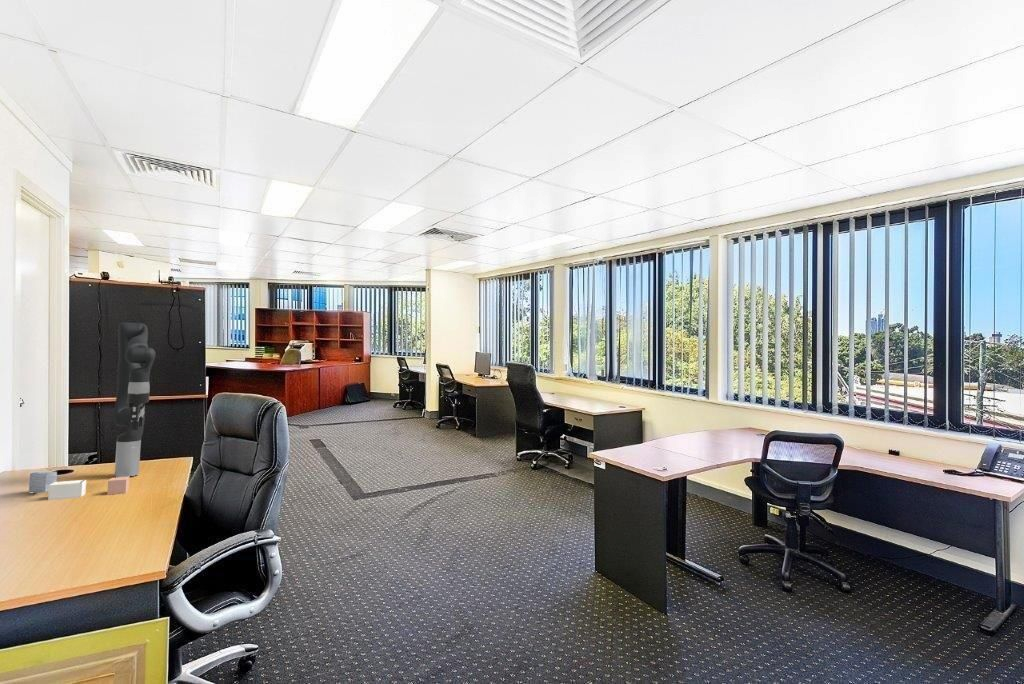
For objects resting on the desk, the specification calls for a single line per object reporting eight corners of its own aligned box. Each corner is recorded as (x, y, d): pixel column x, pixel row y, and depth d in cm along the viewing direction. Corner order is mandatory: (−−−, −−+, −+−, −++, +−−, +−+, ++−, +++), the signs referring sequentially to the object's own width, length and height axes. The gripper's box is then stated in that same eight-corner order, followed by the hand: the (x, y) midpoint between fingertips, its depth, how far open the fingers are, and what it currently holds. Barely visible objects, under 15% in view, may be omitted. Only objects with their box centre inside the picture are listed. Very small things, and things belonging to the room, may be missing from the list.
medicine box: (56, 491, 197) (57, 471, 197) (44, 494, 192) (46, 474, 192) (40, 490, 197) (41, 470, 198) (28, 493, 193) (29, 473, 193)
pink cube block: (110, 491, 196) (111, 477, 196) (128, 489, 199) (129, 476, 199) (107, 494, 191) (108, 480, 192) (125, 493, 194) (126, 479, 195)
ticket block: (53, 496, 187) (54, 481, 187) (85, 494, 192) (86, 479, 192) (48, 500, 183) (49, 484, 183) (81, 497, 187) (82, 482, 188)
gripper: (132, 390, 208) (130, 425, 208) (123, 393, 196) (122, 431, 196) (152, 390, 212) (151, 425, 212) (145, 393, 200) (144, 430, 199)
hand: (137, 428), depth 204 cm, fingers open, 8 cm apart
